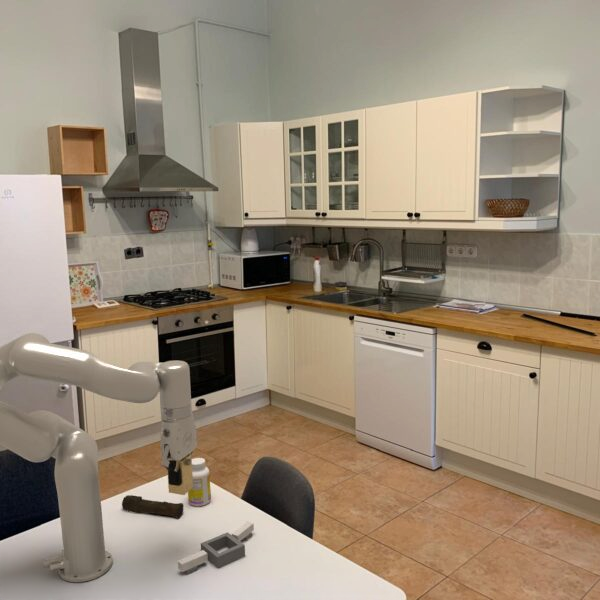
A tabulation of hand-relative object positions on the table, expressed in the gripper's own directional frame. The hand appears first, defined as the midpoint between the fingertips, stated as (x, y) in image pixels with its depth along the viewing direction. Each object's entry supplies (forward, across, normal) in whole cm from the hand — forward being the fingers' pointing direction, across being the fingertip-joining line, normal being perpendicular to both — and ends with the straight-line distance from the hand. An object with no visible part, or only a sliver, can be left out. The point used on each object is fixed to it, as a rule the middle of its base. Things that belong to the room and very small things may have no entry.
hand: (180, 479), depth 159 cm
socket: (+19, +1, -11) cm, 22 cm away
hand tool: (+20, +13, +19) cm, 30 cm away
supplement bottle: (+19, +24, +9) cm, 32 cm away
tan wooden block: (+3, 0, 0) cm, 3 cm away
